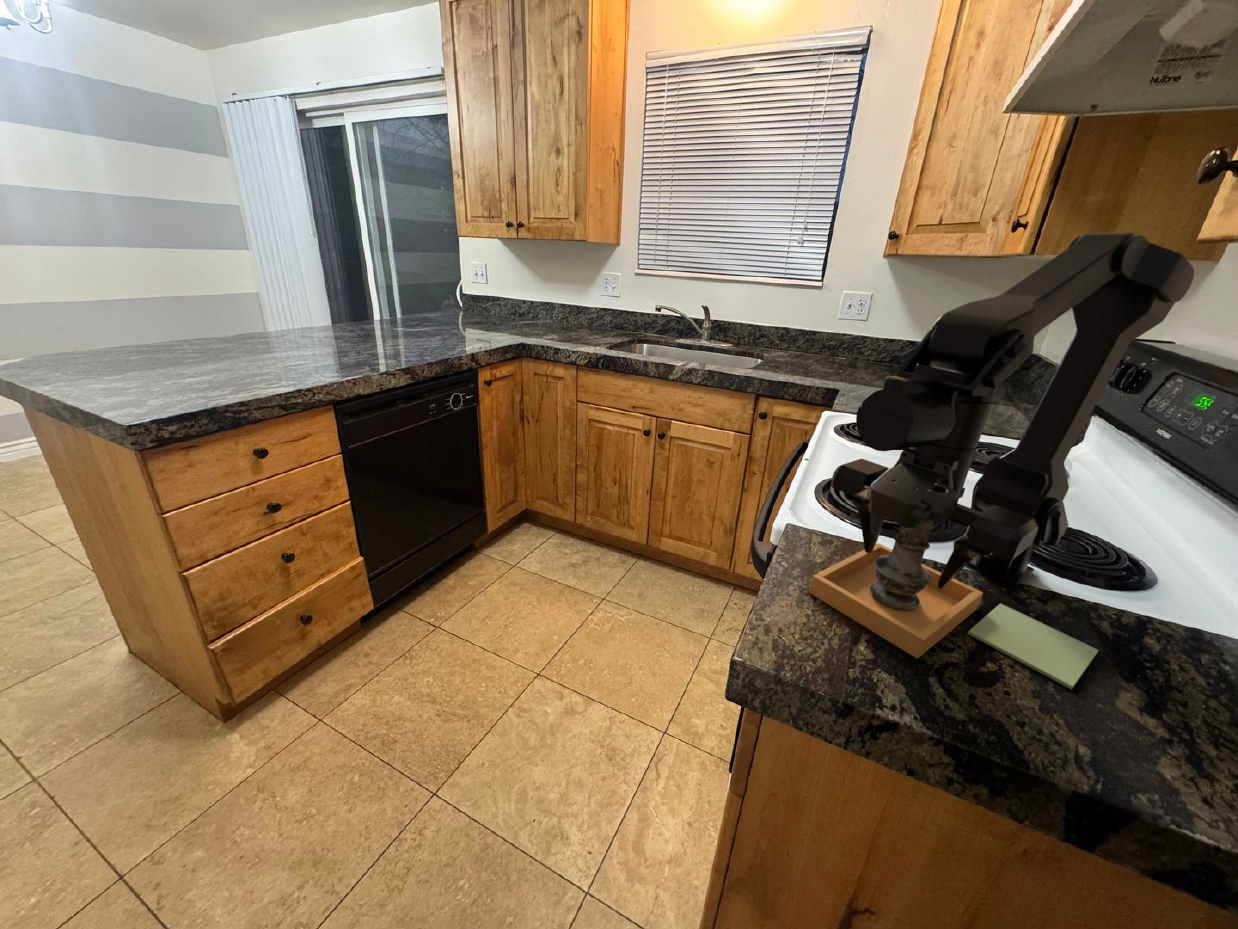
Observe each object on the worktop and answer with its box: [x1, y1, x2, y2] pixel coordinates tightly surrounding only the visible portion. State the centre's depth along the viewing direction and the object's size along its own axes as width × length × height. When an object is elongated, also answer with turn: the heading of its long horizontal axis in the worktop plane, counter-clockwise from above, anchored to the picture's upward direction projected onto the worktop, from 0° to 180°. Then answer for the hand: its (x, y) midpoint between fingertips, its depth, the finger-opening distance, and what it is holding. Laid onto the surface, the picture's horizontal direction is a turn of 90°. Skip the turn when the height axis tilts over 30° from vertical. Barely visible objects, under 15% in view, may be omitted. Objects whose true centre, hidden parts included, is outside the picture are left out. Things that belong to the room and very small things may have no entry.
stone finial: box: [870, 520, 934, 610], centre depth 56 cm, size 6×6×12 cm
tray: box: [808, 542, 984, 659], centre depth 58 cm, size 15×13×2 cm
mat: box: [967, 603, 1099, 690], centre depth 53 cm, size 9×9×1 cm
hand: (902, 568), depth 57 cm, fingers closed on stone finial, 8 cm apart
